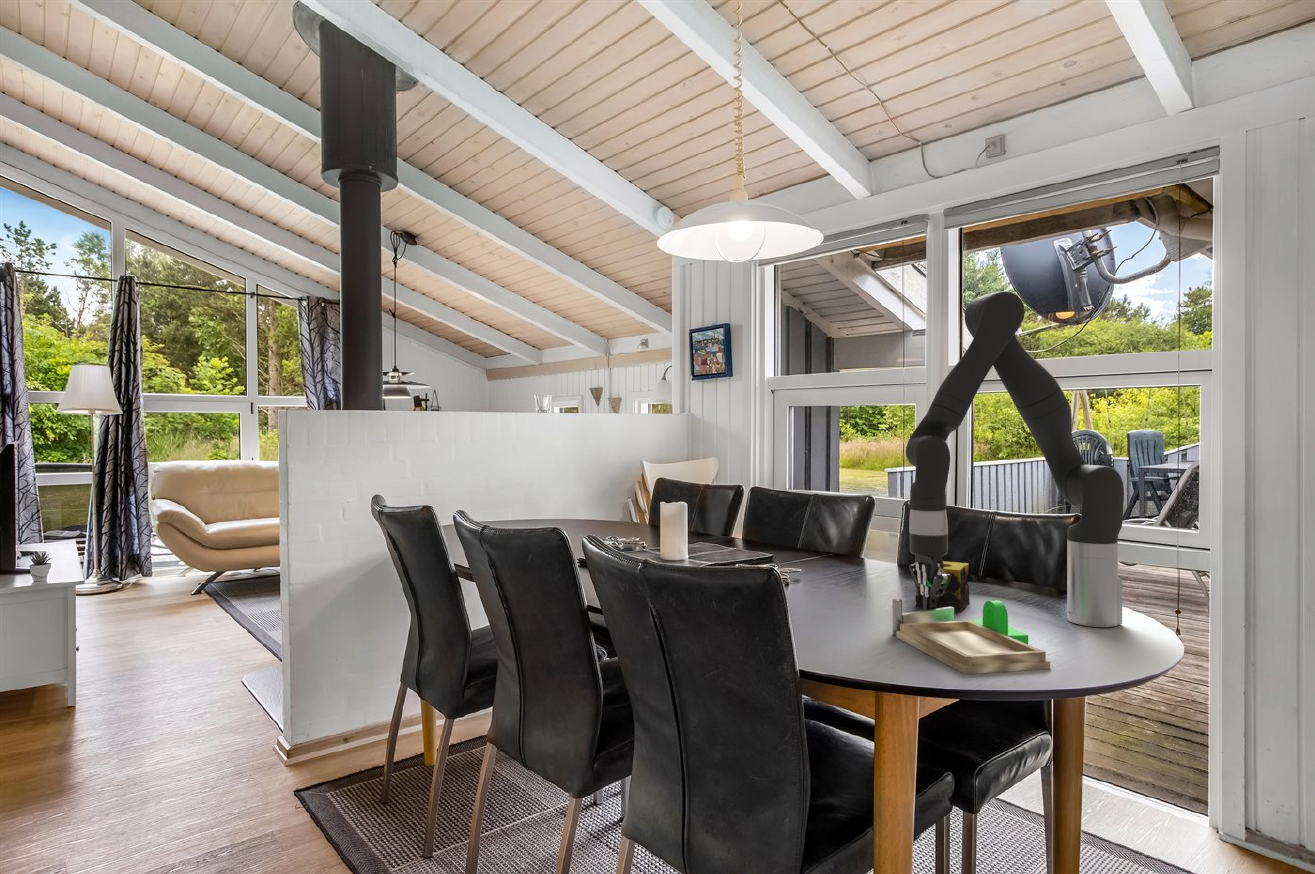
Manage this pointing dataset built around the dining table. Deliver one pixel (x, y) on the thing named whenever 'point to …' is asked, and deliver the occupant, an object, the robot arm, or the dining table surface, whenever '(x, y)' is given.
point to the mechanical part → (999, 621)
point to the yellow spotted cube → (952, 588)
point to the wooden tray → (972, 647)
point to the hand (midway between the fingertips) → (929, 613)
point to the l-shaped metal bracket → (919, 615)
